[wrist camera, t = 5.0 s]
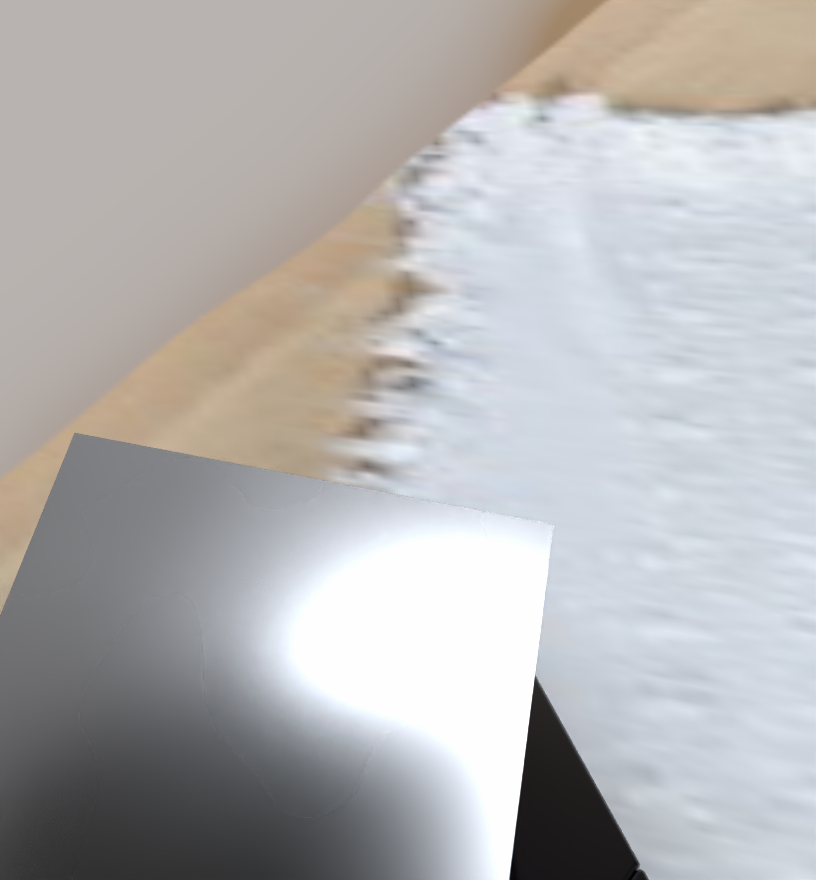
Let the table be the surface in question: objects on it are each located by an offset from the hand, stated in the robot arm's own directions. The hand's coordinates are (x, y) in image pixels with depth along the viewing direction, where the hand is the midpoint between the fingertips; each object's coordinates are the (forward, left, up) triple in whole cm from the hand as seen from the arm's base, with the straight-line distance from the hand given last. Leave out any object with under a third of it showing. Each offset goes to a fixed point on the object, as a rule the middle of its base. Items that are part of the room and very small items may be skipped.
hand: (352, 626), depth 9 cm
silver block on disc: (-1, 0, -7) cm, 7 cm away
